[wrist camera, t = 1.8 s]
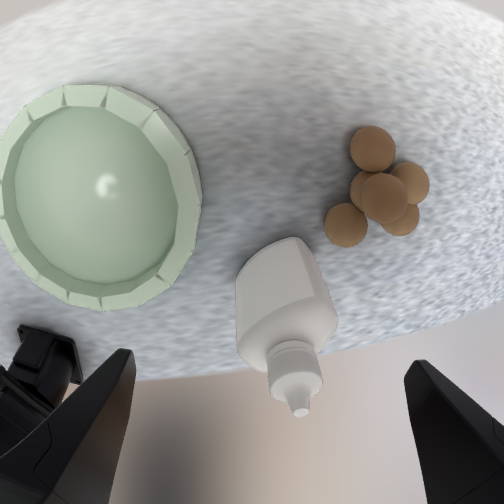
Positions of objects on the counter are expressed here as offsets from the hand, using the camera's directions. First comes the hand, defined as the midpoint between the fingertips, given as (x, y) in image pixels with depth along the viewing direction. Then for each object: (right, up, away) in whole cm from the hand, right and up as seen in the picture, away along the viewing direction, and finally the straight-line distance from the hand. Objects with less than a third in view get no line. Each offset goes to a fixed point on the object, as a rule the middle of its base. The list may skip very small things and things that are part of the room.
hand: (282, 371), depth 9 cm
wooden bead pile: (+6, +8, +11) cm, 15 cm away
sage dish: (-12, +7, +10) cm, 17 cm away
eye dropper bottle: (+1, +3, +14) cm, 14 cm away
